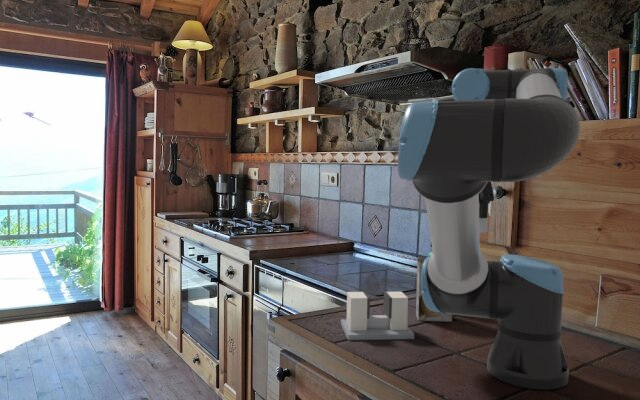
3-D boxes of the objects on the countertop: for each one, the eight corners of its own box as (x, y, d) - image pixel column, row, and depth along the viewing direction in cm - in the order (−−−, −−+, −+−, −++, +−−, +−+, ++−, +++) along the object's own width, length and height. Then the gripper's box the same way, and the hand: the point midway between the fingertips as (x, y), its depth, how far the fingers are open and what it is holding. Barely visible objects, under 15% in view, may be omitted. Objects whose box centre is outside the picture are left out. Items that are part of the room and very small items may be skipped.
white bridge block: (407, 329, 123) (408, 297, 123) (388, 330, 123) (389, 298, 122) (400, 322, 129) (401, 291, 128) (383, 322, 129) (383, 291, 128)
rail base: (414, 338, 120) (415, 301, 120) (348, 340, 119) (348, 301, 118) (401, 323, 132) (402, 288, 132) (340, 323, 131) (341, 289, 130)
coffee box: (448, 315, 140) (450, 257, 139) (452, 322, 134) (454, 262, 132) (415, 313, 141) (417, 256, 140) (417, 320, 134) (419, 261, 133)
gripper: (513, 135, 105) (508, 236, 107) (466, 140, 130) (463, 222, 131) (478, 134, 104) (474, 236, 106) (438, 140, 129) (435, 222, 131)
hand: (468, 228), depth 119 cm, fingers open, 13 cm apart
